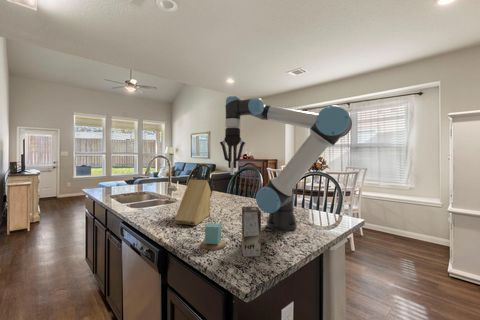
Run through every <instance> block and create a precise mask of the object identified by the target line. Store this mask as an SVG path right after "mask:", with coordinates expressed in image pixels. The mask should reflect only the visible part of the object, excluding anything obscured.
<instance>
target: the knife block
mask: <svg viewBox="0 0 480 320" xmlns="http://www.w3.org/2000/svg"><path fill="white" fill-rule="evenodd" d="M206 169H207V170H206V171H205V176H204V177H203V172H204V168H203V164H201V163H198V164H197V165H196V167H195V169H194V171H193V172H194V173H193V176H192V179H189V180H188V182H187V185H186V187H185V190H184V194H183V197H182V198H181V202H180V204H179V207H178V209H177V213H176V214H175V218H174V222H175V224H177V225H189V226H191V225H192V226H196V225H198V224H200V222H202V221H203V220H204V219H205V218H208V216H209V215H211V197H212V194H213V191H214V188H215V185H213V182H214V179H215V177H213V176H211V177H210V175H211V171H212V167H211V166H208V167H207V168H206Z"/></svg>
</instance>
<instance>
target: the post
mask: <svg viewBox="0 0 480 320" xmlns="http://www.w3.org/2000/svg"><path fill="white" fill-rule="evenodd" d="M226 246H227V242H226V241H225V240H223V239H221V241H220V242H219V244H206V243H205V239H204V240H203V241H201V242H200V248H201V249H202V250H206V251H220V250H222V249H225V248H226Z"/></svg>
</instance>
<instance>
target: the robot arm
mask: <svg viewBox="0 0 480 320" xmlns="http://www.w3.org/2000/svg"><path fill="white" fill-rule="evenodd" d="M241 116H242V117H243V116H252V117H254V118H257V119H259V120H262V121H271V122H274V123H275V122H277V123H281V124H285V125H289V126H295V127H298V128H305V129H309V132H310V133H309V136H308V137H307V138H306V139H305V140H304V142H303V143H302V144H301V146H300V147H299V148H298V150H297V151H296V152H295V153H294V154H293V156H292V157H291V159H289V161H288V162H287V163H286V165H284V167H283V168H282V170H281V171H280V172H279V173H278V175H277V176H276V177H271V178H270V180H269V181H268V182H267V183H266V185H265V186H263V187H261V188H259V189H258V191H257V192H256V194H255V201H256V205H257V207H258V208H259V210H260V211H261V212H264V213H267V214H268V217H267V220H266V227H267V228H268V229H271V230H273V231H279V232H280V231H281V232H290V231H291V232H292V231H294V230H296V229H297V227H298V226H297V225H298V223H297V220H296V216H295V212H294V203H295V202H294V200H295V199H294V196H295V194H294V192H295V186H296V185H297V184H298V183H299V182H300V181H301V179H302V178H303V177H304V175H306V173H307V172H308V171H309V170H310V168H311V167H313V165H314V164H315V162H316V161H317V160H318V159H319V158H320V156H321V155H322V154H323V153H324V152H325V150H326V149H327V148H329V147H333V146H335V144H337V142H339V140H340V139H341V138H344V137H345V136H347V135H348V134H349V133H350V131H351V130H352V127H353V121H352V118H351V116H350V113H349V112H348V111H347V110H346V109H345V108H344V107H342V106H339V105H334V104H333V105H329V106H326V107H325V106H324V107H323V108H322V109H321V110H320V111H319V112H318V113H315V112H309V111H304V110H298V109H292V108H286V107H279V106H275V105H268V104H264V101H263V100H262V98H260V97H253V98H249V99H241V97H239V96H237V95H235V96H234V95H231V96H227V97H226V99H225V124H224V125H225V126H224V127H225V129H224V131H225V133H224V134H225V136H224V139H223V140H222V141H220V142H219V144H220V146H221V147H222V153H223V156H224V161H227V162H228V166H227V167H228V169H230V171H229V173H230V174H229V175H231V176H233V175H235V169H236V168H237V162H238V161H239V162H240V160H241V157H242V154H243V153H242V152H243V150H244V149H243V148H244V147H245V145H246V142H245V141H244V140H242V138H241V129H240V128H241ZM239 144H240V146H239V149H238V145H239ZM226 145H227V146H228V148H226ZM227 149H228V151H227ZM232 150H233V151H232ZM237 151H238V153H237ZM227 152H228V153H227ZM232 152H233V154H232ZM232 155H233V159H232Z"/></svg>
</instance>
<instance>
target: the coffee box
mask: <svg viewBox="0 0 480 320" xmlns="http://www.w3.org/2000/svg"><path fill="white" fill-rule="evenodd" d="M261 224H262V210H261V209H260V208H259V207H258V206H242V207H241V252H242V256H243V257H246V258H247V257H250V258H251V257H260V256H261V247H262V246H261V245H262V244H261V240H262V239H261V238H262V237H261V235H262V233H261V232H262V231H261V229H262V227H261V226H262V225H261Z"/></svg>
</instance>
